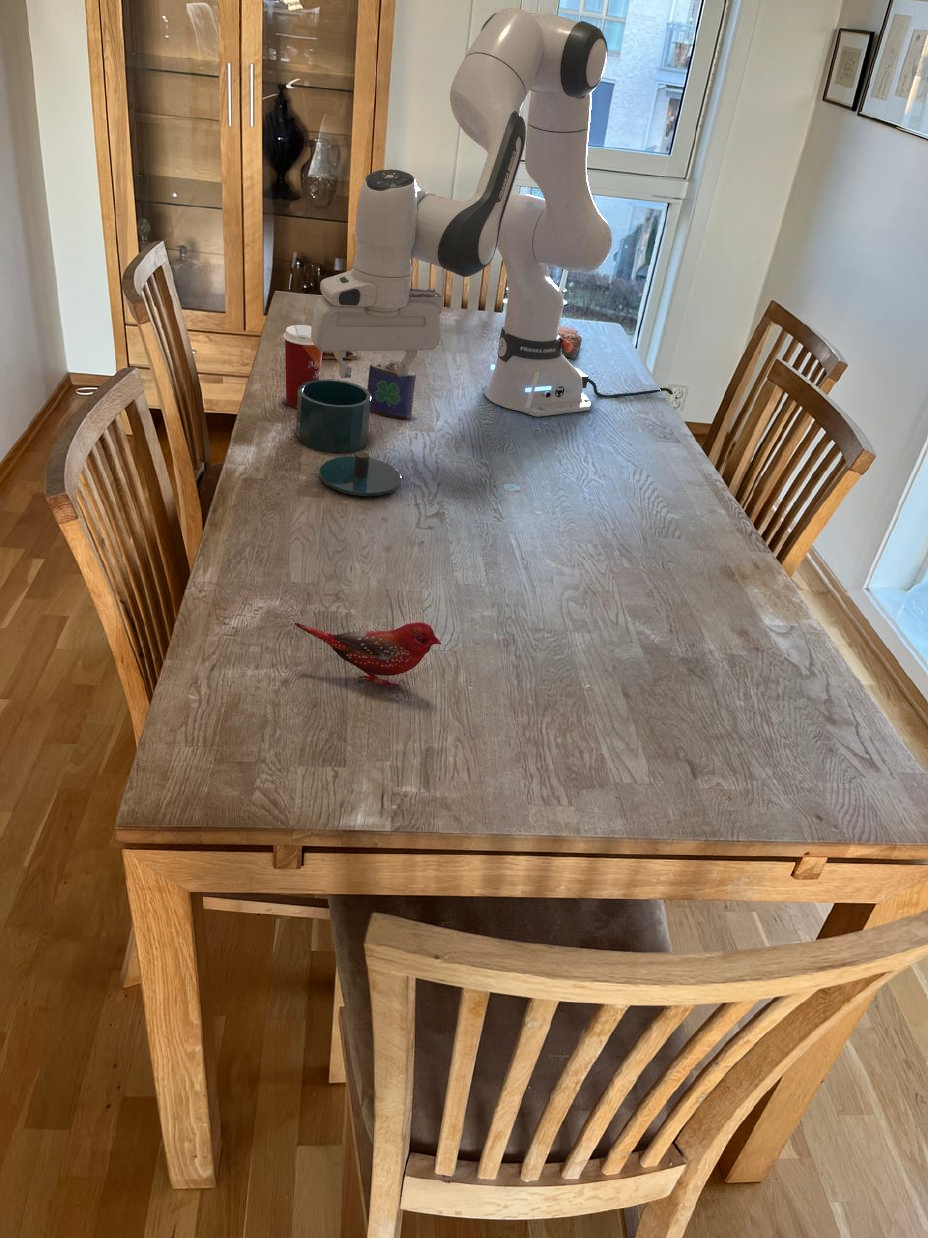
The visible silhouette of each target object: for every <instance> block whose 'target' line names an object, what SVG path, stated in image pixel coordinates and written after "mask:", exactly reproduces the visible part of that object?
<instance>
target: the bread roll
mask: <svg viewBox="0 0 928 1238" xmlns="http://www.w3.org/2000/svg"><path fill="white" fill-rule="evenodd" d="M324 359H325V360H330V359H333V360H337V359H336V357H335V355H334V353H333V351H322V360H324ZM342 359H343V360H345V359H346V360H347V359H348V360H349V359H351V360H353V359H355V360H357V359H358V353H357V352H356V351H346V357H342Z"/></svg>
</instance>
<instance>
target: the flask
mask: <svg viewBox="0 0 928 1238" xmlns="http://www.w3.org/2000/svg"><path fill="white" fill-rule="evenodd" d="M388 363H389V364H385V363H382V361H379V362H373V363H370V365H369V368H368V370H369V371H368V379H367V388H366V389H367V390H368V391H369V393H370V394H371V395H372V396H371V407H370V413H373V414H375V415H376V414H377V415H379V416H387V417H388V418H393V419H398V420H404V421H405V420H411V418H412V415H413V414H412V413H413V403H414V395H415V393H414V392H415V386H416V380H417V374H416V373H415V372H414V371H412V370H408V375H407V376H402V377H398V375H397V374H396V368H397V367H396V363H399V360H397V359H389V360H388Z"/></svg>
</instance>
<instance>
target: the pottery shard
mask: <svg viewBox="0 0 928 1238" xmlns="http://www.w3.org/2000/svg"><path fill="white" fill-rule="evenodd" d="M578 332H579V330H577V328H573V327H569V326H565V325H560V326H559V331H558V335H559V336H560V337H561V338H563V339H564V340H568V341H569V342H571V343H572V344H573V348H572V350H571V351H570V352H566V351H565V350H564V349H562V355H563V356H564V357H565V358H568V359H575V358H576V357H577V355H578V353H579V351H580V348H581V346H582V341H583V339H582V336H581V335H579V334H578ZM564 340H563V341H564Z"/></svg>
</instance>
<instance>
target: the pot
mask: <svg viewBox="0 0 928 1238" xmlns="http://www.w3.org/2000/svg"><path fill="white" fill-rule="evenodd" d="M371 396H372V395H371V394H370V393H369V391H368V390H367V388H365V387H363V386H361V385H359V384H357V383H353V382H351V381H346V380H340V379H334V378H333V379H331V378H330V379H321V378H319V380H313V381H308V382H306V383H304V384H302V385H300V387H299V389H298V400H297V408H296V419H295V420H296V423H295V435H296V439H297V440H298V442H299V443H300V444H302V445H304V446H306V447H308V448H310V449H313V450H316V451H319V452H325V453H334V454H343V453H344V454H345V453H352V452H356V451H358V450H361V449H363V448H364V447H365V446H366V445H367V443H368V437H369V429H370V428H369V427H370V416H371V412H370V407H371Z"/></svg>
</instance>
